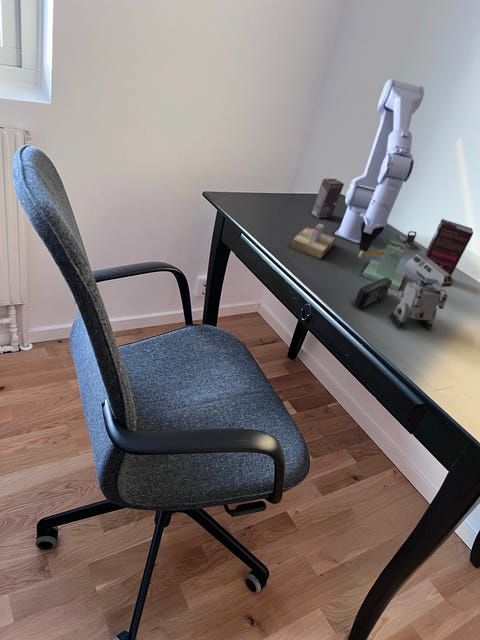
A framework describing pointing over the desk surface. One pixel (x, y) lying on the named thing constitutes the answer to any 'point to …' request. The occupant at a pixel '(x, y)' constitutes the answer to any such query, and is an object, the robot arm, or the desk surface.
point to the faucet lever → (374, 252)
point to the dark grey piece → (372, 292)
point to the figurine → (421, 292)
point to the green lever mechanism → (387, 265)
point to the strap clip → (409, 240)
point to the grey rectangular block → (316, 232)
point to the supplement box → (448, 244)
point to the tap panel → (312, 243)
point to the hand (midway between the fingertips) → (363, 249)
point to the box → (327, 198)
